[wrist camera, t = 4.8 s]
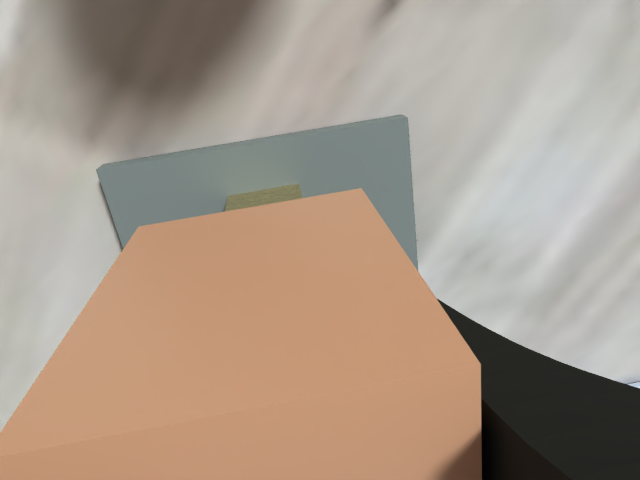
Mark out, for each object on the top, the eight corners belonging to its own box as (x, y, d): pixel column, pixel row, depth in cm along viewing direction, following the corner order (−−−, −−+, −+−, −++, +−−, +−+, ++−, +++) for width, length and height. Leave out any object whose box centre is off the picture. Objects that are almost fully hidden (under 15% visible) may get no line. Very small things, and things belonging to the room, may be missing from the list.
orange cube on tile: (381, 366, 13) (483, 643, 7) (194, 401, 13) (134, 720, 7) (361, 188, 11) (480, 364, 5) (138, 226, 11) (-18, 460, 5)
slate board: (420, 372, 22) (425, 383, 22) (187, 417, 22) (185, 430, 21) (401, 114, 18) (407, 117, 17) (103, 164, 17) (96, 169, 16)
